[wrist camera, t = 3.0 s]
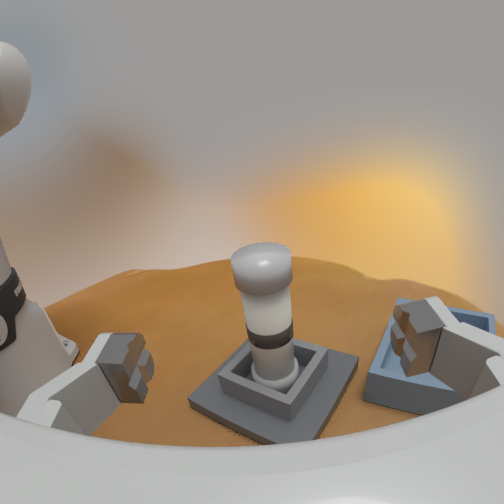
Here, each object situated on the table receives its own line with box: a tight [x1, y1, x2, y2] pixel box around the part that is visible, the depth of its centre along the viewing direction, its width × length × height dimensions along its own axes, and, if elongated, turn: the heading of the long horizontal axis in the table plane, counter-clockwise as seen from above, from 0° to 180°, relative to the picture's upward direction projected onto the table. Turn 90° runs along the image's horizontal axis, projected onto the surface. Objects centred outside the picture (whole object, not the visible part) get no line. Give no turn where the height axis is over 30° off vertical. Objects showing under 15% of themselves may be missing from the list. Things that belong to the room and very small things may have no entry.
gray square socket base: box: [188, 338, 359, 445], centre depth 27 cm, size 12×12×4 cm
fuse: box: [231, 242, 299, 394], centre depth 24 cm, size 4×4×13 cm
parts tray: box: [363, 298, 496, 415], centre depth 25 cm, size 12×12×4 cm
